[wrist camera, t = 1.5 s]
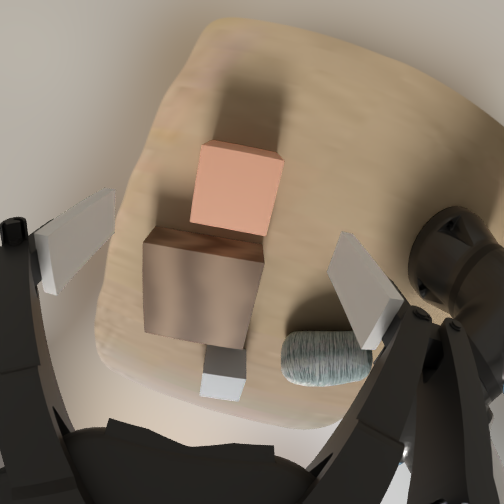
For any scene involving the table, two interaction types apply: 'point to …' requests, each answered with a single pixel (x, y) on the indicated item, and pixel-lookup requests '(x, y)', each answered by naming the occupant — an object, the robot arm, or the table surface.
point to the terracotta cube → (236, 187)
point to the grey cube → (223, 373)
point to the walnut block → (199, 286)
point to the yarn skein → (324, 358)
